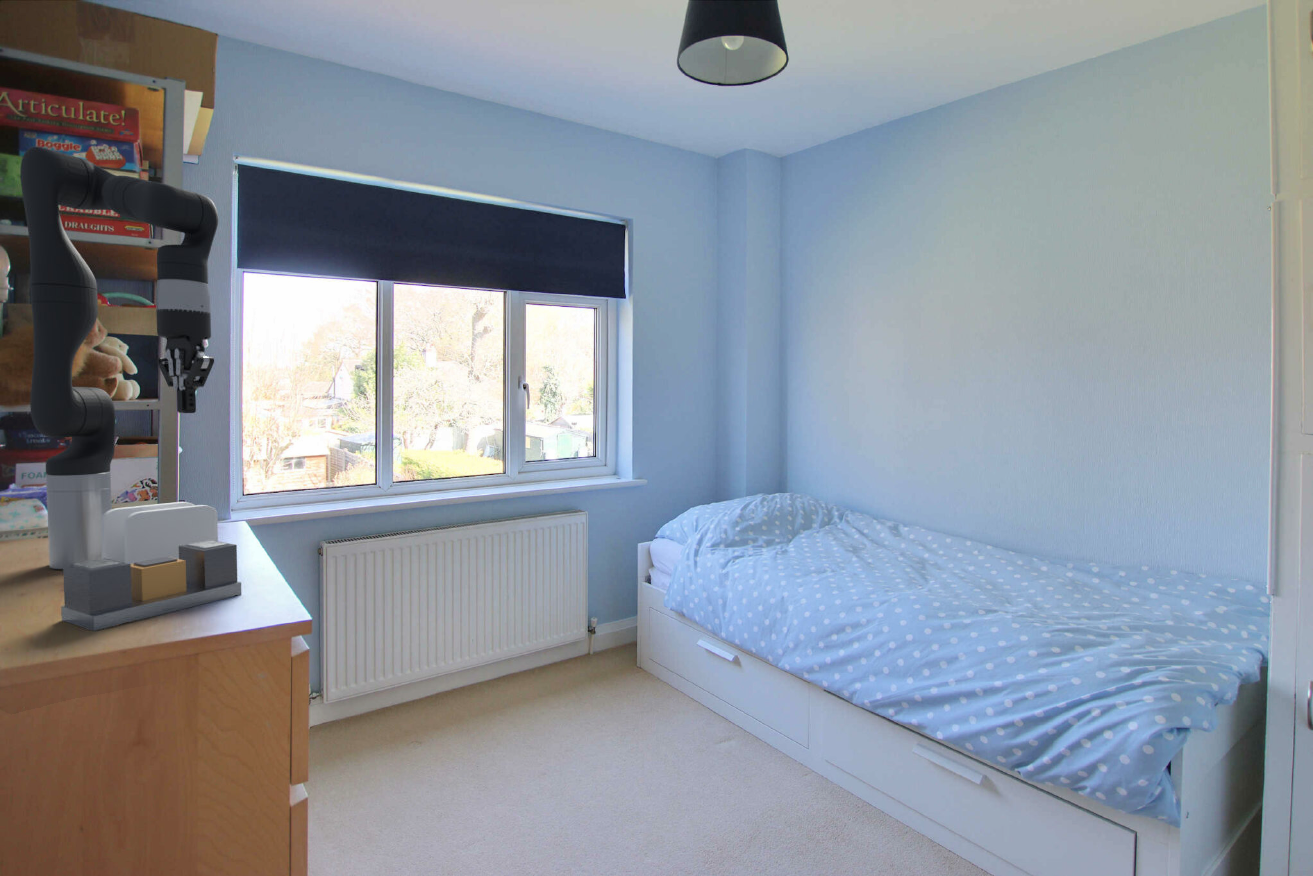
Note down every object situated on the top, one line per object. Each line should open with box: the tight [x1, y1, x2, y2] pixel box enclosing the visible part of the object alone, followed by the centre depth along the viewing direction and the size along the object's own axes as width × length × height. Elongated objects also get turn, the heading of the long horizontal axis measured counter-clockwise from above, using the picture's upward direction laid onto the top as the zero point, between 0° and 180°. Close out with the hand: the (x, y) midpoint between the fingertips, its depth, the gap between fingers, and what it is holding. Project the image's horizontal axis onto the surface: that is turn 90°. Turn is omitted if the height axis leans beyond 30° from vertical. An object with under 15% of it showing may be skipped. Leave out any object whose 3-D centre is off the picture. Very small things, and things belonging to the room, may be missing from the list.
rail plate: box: [60, 540, 242, 632], centre depth 103 cm, size 9×20×8 cm, turn 153°
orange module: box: [131, 557, 186, 601], centre depth 103 cm, size 6×4×5 cm
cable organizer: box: [101, 501, 219, 564], centre depth 126 cm, size 15×11×12 cm
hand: (186, 412), depth 116 cm, fingers closed
